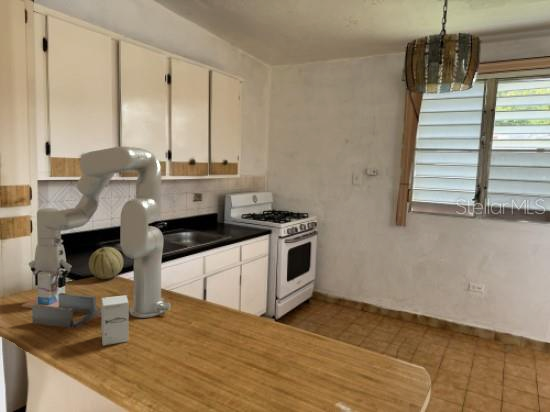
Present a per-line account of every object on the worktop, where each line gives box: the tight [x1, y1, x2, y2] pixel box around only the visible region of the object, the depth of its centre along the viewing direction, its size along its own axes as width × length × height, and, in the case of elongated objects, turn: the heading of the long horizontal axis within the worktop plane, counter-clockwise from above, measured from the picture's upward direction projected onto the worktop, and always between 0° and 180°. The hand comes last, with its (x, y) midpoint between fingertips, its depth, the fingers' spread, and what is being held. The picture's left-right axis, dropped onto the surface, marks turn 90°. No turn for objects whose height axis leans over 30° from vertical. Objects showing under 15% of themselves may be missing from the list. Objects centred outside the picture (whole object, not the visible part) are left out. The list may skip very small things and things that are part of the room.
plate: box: [21, 297, 59, 309], centre depth 140 cm, size 13×13×1 cm
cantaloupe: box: [88, 246, 124, 280], centre depth 171 cm, size 15×15×15 cm
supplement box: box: [100, 294, 130, 347], centre depth 113 cm, size 7×7×13 cm
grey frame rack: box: [31, 292, 101, 329], centre depth 127 cm, size 16×13×6 cm
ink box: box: [37, 269, 66, 305], centre depth 139 cm, size 9×5×12 cm, turn 171°
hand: (50, 285), depth 139 cm, fingers open, 9 cm apart
